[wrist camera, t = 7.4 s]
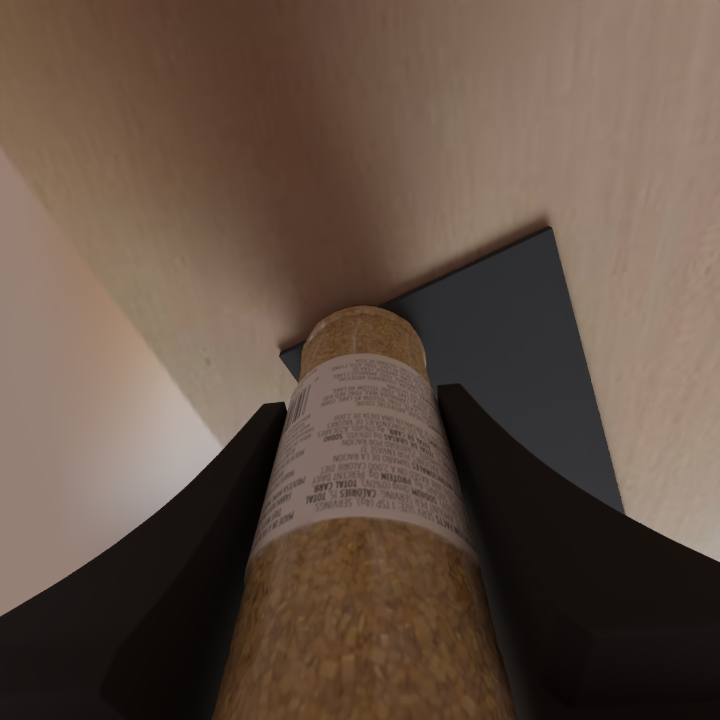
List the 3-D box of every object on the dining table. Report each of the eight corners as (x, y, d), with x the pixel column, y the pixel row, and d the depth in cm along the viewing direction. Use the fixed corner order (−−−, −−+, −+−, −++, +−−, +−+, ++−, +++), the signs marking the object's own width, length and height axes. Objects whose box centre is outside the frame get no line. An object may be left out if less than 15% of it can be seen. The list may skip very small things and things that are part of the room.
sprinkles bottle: (375, 424, 16) (409, 1205, 4) (278, 368, 15) (-43, 1288, 3) (452, 345, 14) (873, 1371, 2) (348, 273, 13) (197, 1802, 1)
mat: (279, 352, 15) (278, 356, 14) (548, 225, 12) (552, 227, 12) (491, 647, 26) (492, 653, 26) (648, 613, 24) (651, 618, 24)
